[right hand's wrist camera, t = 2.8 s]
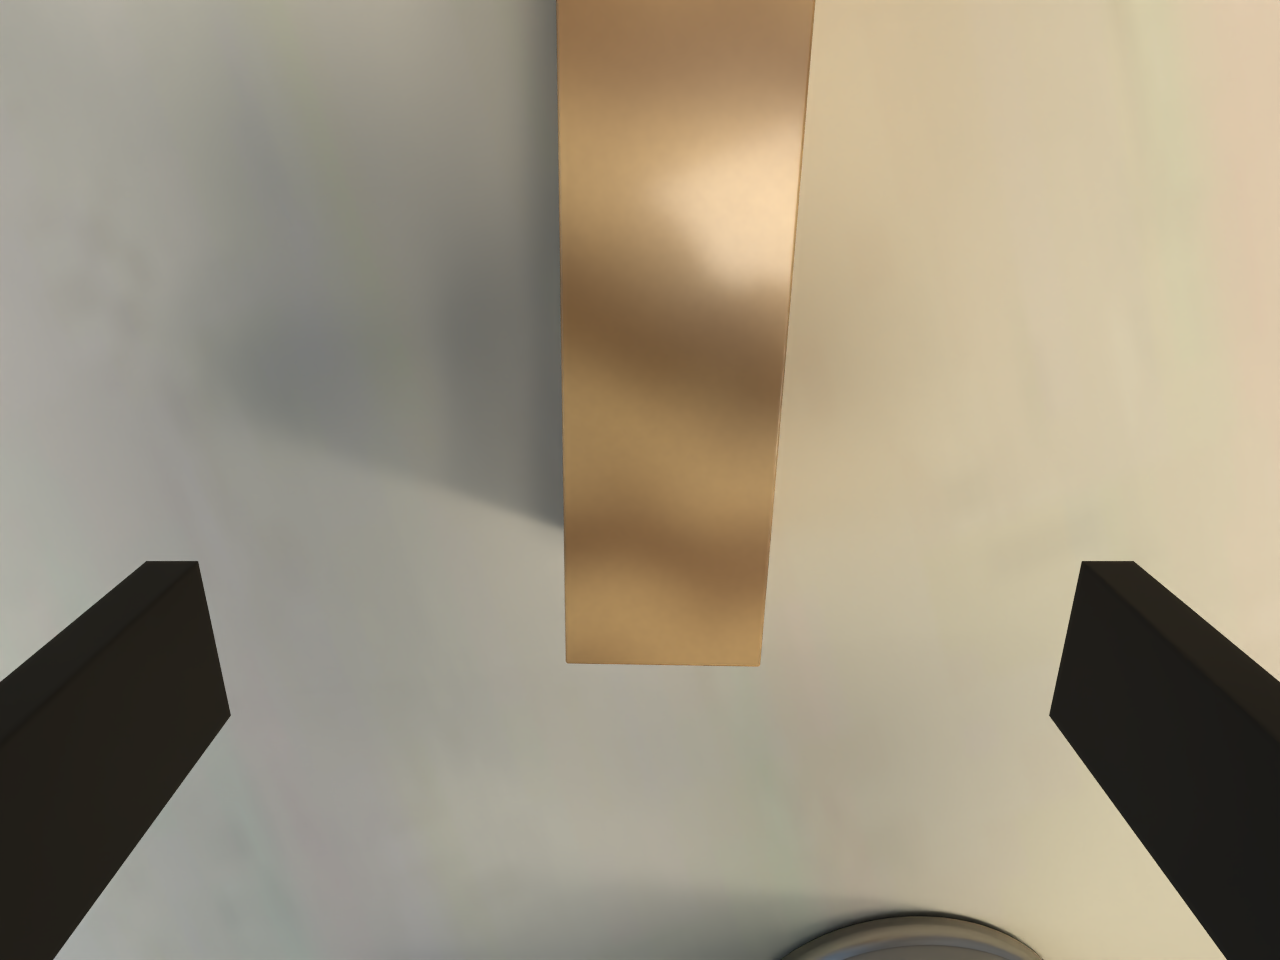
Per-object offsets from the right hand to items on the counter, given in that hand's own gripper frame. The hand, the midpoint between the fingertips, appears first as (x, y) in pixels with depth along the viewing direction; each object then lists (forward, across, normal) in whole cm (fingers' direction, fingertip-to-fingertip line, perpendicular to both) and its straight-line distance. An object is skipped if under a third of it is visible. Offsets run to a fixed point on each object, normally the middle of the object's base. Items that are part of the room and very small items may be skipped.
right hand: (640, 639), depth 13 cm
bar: (+16, -1, -33) cm, 37 cm away
